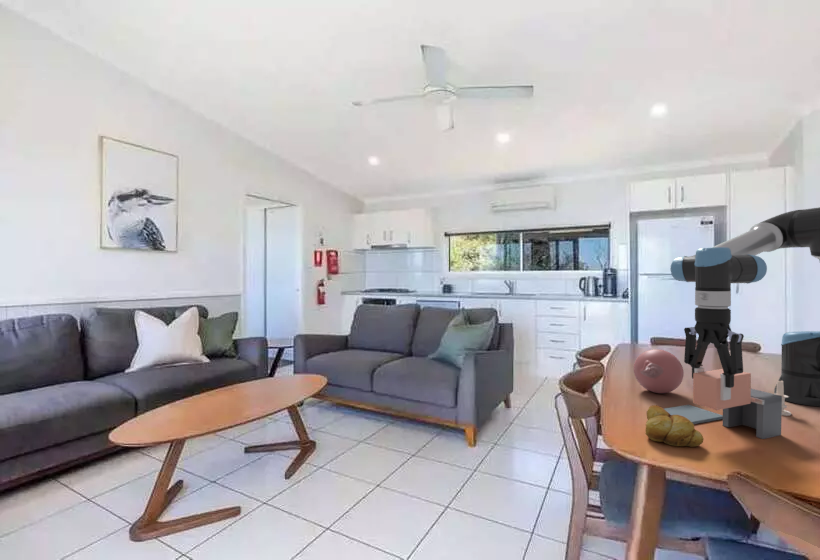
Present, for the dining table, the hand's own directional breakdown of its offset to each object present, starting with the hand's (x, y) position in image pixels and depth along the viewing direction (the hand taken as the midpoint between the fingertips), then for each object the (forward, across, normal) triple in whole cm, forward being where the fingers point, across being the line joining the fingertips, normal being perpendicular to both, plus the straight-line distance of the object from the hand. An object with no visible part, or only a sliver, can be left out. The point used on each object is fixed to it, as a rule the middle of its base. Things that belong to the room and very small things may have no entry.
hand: (711, 395), depth 109 cm
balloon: (+12, -34, +21) cm, 42 cm away
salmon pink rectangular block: (+3, 0, +4) cm, 5 cm away
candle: (+12, -6, +39) cm, 41 cm away
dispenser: (+11, 0, +16) cm, 19 cm away
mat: (+11, -14, +9) cm, 20 cm away
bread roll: (+11, -2, -12) cm, 17 cm away
